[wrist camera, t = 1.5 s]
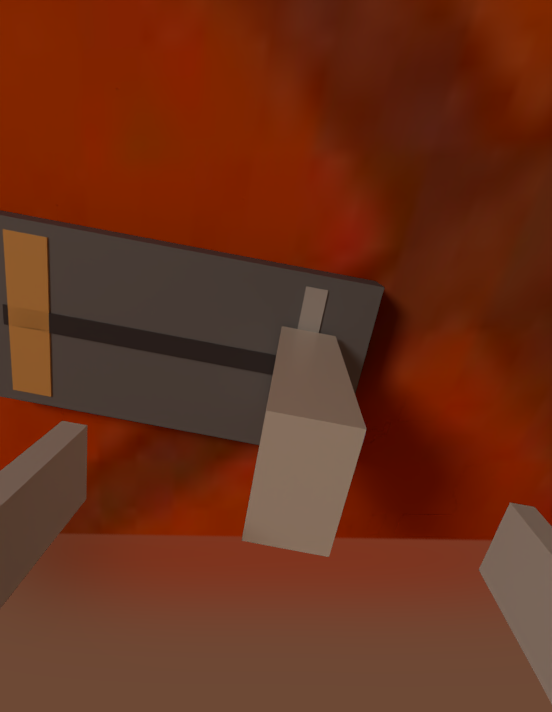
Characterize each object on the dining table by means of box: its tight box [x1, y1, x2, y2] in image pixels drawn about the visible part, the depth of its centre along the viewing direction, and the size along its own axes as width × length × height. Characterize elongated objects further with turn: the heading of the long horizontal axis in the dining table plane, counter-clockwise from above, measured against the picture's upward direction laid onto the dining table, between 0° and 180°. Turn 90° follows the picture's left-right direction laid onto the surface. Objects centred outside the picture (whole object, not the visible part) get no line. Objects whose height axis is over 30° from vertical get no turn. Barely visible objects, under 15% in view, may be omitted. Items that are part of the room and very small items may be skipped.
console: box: [0, 210, 384, 445], centre depth 23 cm, size 23×11×3 cm, turn 80°
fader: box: [242, 326, 367, 557], centre depth 16 cm, size 3×5×10 cm, turn 170°
